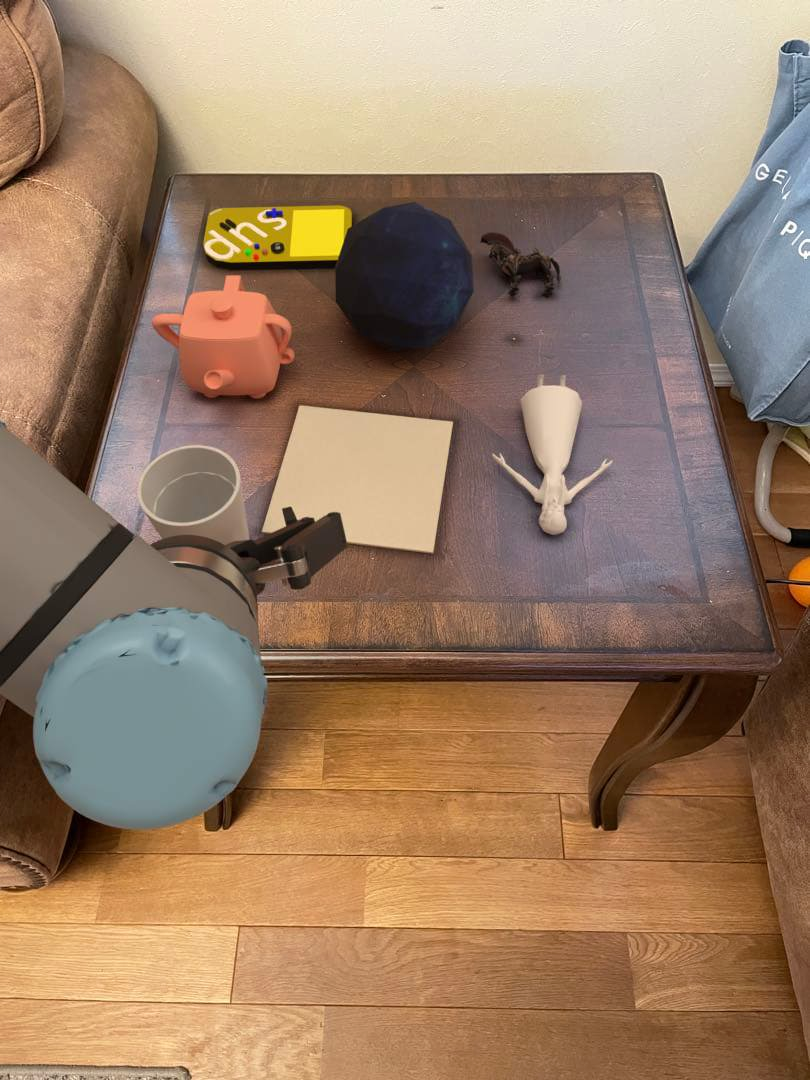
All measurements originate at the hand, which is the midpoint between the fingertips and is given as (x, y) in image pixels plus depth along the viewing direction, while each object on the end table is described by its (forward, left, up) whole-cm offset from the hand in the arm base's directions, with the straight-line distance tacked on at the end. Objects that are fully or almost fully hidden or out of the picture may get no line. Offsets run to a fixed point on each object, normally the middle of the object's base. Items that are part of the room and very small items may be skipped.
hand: (203, 544), depth 61 cm
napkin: (+9, +16, -10) cm, 21 cm away
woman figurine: (+27, +20, -10) cm, 35 cm away
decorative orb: (+10, +37, -10) cm, 40 cm away
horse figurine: (+23, +45, -10) cm, 52 cm away
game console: (-8, +51, -10) cm, 52 cm away
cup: (-2, +4, -10) cm, 11 cm away
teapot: (-7, +27, -10) cm, 30 cm away
